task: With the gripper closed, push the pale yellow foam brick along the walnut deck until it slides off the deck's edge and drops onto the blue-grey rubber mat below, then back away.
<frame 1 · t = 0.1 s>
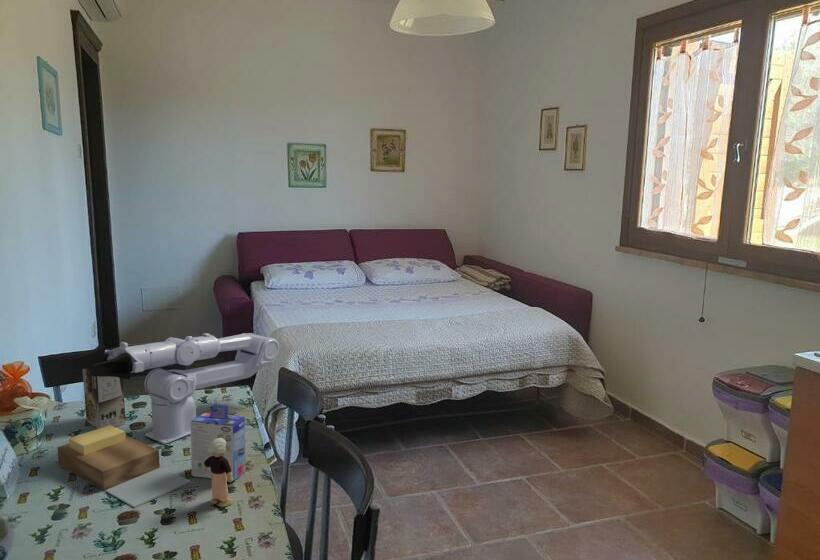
hand: (82, 367, 124), 22 cm above the table, tool horizontal, fingers open, 7 cm apart
pale yellow foam brick: (97, 443, 129), point 4 cm above the table, touching deck
mat: (148, 487, 119), on the table
deck: (109, 466, 127), on the table
grandmother figurine: (219, 502, 114), on the table
ink cartridge box: (219, 474, 125), on the table
coffee box: (106, 423, 150), on the table
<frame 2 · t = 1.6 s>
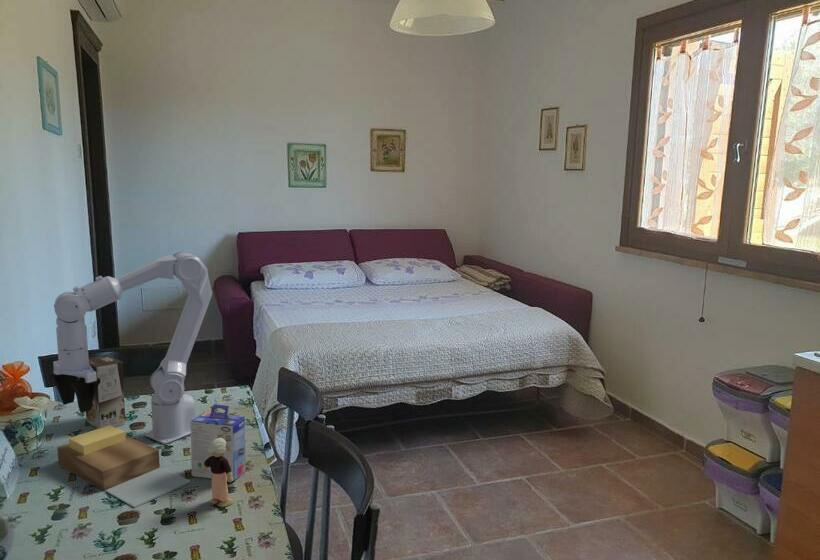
hand: (76, 406, 132), 10 cm above the table, tool pointing down, fingers open, 7 cm apart
nothing on the table moved.
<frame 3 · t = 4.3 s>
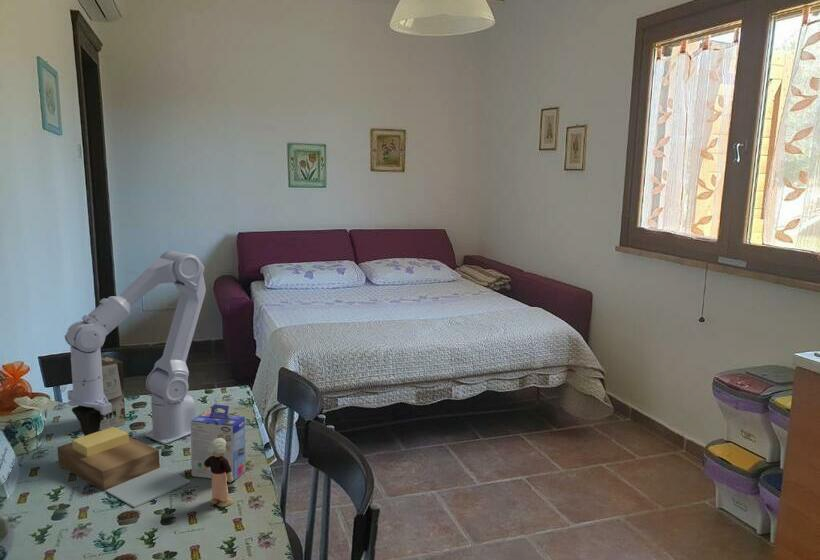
hand: (91, 437, 130), 5 cm above the table, tool pointing down, fingers closed
pale yellow foam brick: (101, 445, 128), point 4 cm above the table, touching deck, gripper
everything else where it was.
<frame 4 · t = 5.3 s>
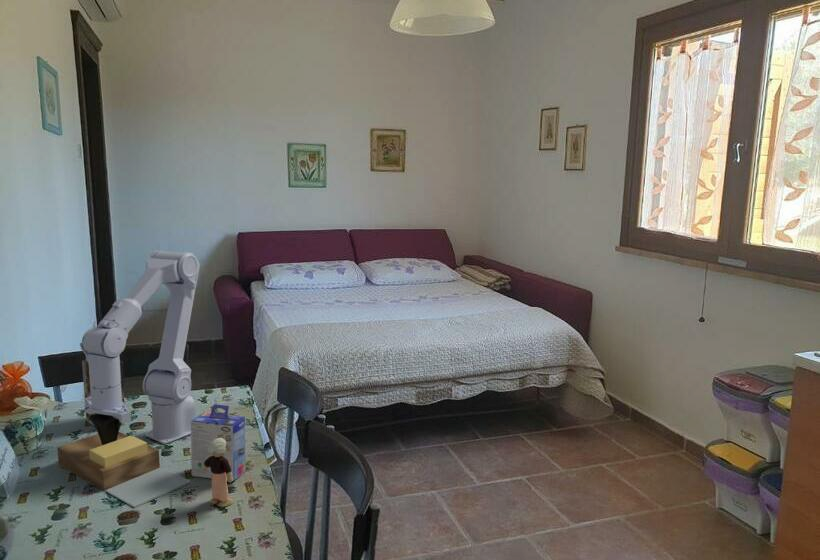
hand: (109, 446, 126), 5 cm above the table, tool pointing down, fingers closed
pale yellow foam brick: (119, 455, 123), point 4 cm above the table, touching deck
everything else where it was.
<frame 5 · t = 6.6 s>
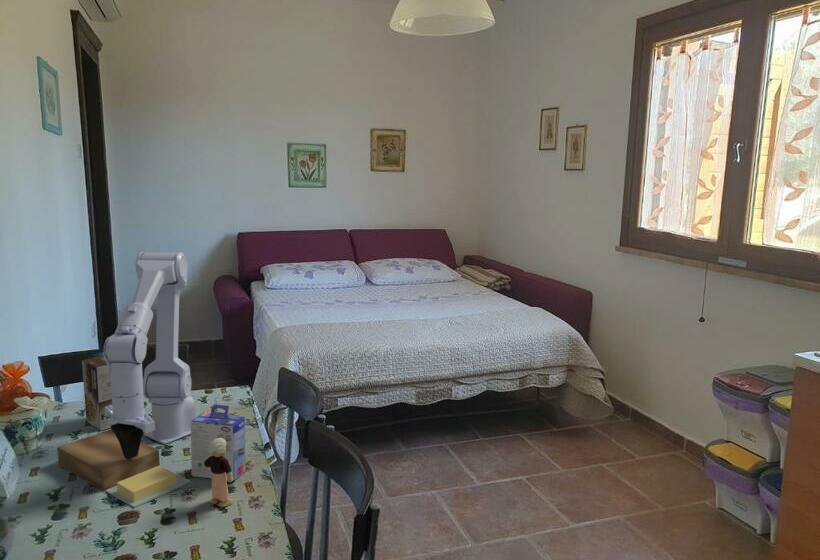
hand: (131, 456, 121), 5 cm above the table, tool pointing down, fingers closed
pale yellow foam brick: (147, 478, 118), point 2 cm above the table, tilted 180°, touching mat
everything else where it was.
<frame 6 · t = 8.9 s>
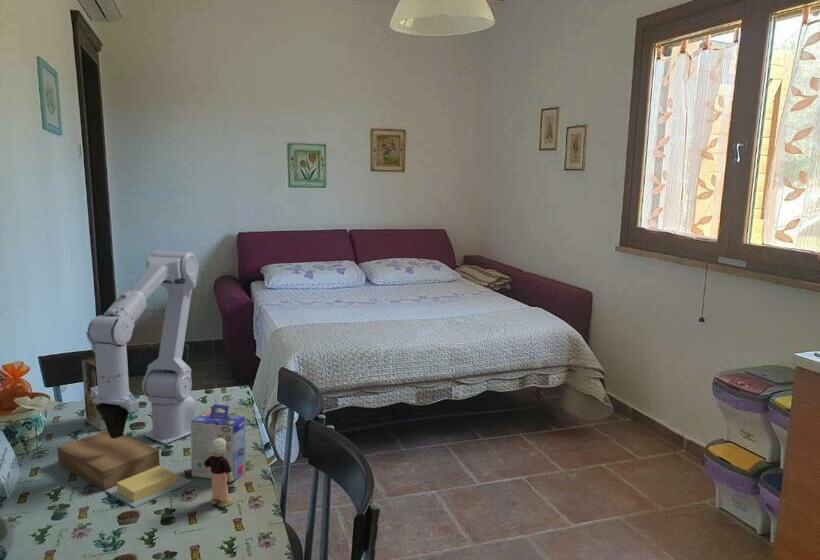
hand: (116, 436, 124), 8 cm above the table, tool pointing down, fingers closed
nothing on the table moved.
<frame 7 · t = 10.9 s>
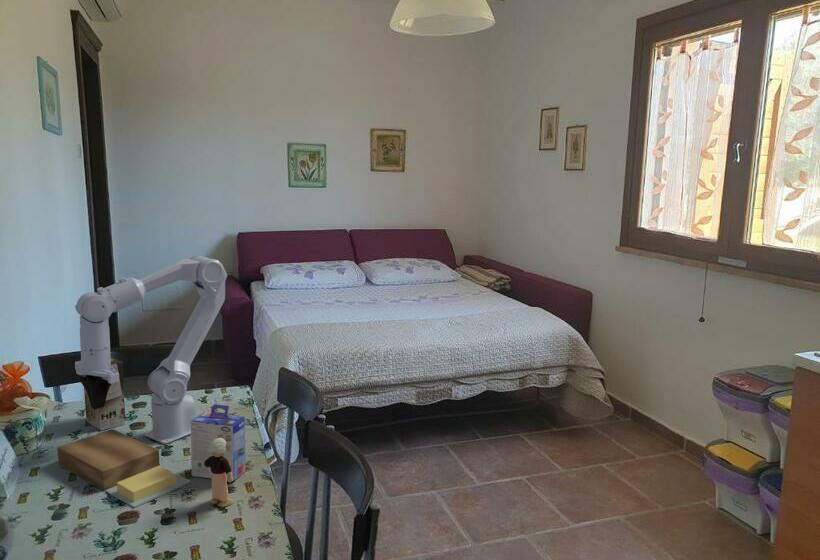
hand: (98, 407, 132), 10 cm above the table, tool pointing down, fingers closed
nothing on the table moved.
at the end: pale yellow foam brick point 2.3 cm above the table; pale yellow foam brick inside the target area on the mat (0.8 cm from its centre), point 2.3 cm above the mat's base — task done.
